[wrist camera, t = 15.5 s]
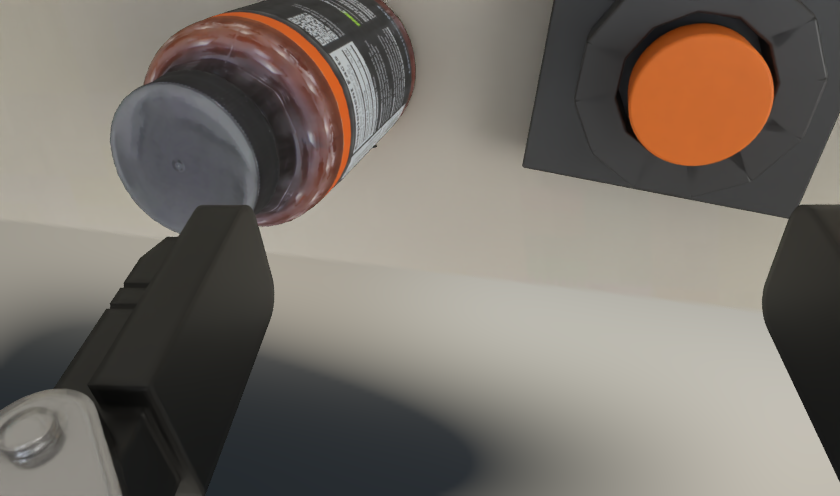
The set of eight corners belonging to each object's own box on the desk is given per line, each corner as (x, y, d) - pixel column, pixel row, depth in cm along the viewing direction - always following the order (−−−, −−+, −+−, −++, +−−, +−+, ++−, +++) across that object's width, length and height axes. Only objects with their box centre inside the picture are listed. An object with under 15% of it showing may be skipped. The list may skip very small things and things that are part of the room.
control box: (528, 147, 24) (514, 186, 21) (574, -88, 20) (565, -86, 17) (779, 194, 23) (806, 245, 19) (881, -52, 19) (939, -41, 15)
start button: (614, 135, 20) (614, 154, 18) (646, 13, 18) (648, 23, 16) (736, 157, 19) (746, 178, 18) (782, 32, 17) (797, 45, 16)
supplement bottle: (281, 126, 27) (93, 252, 17) (271, -26, 24) (40, 23, 14) (417, 146, 26) (297, 293, 16) (425, -12, 23) (284, 51, 13)
